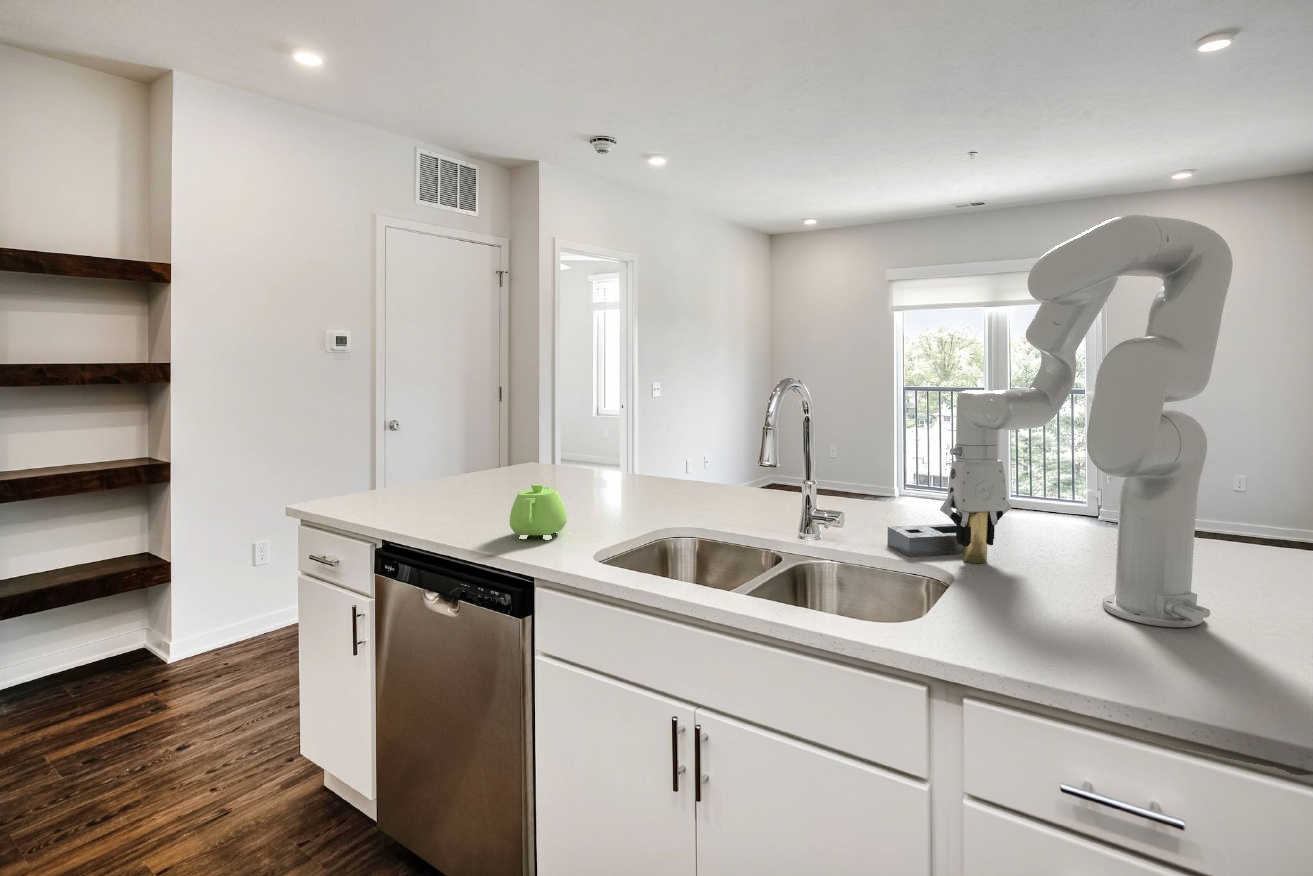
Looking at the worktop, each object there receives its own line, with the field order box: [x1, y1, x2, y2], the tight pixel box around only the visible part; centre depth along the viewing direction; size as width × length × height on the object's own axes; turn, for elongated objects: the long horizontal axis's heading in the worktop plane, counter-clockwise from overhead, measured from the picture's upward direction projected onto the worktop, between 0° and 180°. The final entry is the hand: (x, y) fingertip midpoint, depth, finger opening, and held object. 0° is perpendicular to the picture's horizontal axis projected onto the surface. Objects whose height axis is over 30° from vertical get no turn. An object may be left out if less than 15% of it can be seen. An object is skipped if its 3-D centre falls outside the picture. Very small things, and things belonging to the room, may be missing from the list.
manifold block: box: [887, 523, 963, 558], centre depth 146 cm, size 10×16×4 cm, turn 96°
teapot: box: [509, 483, 568, 536], centre depth 165 cm, size 20×13×13 cm
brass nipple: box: [962, 512, 988, 564], centre depth 136 cm, size 4×4×12 cm
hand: (975, 543), depth 136 cm, fingers closed on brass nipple, 4 cm apart
